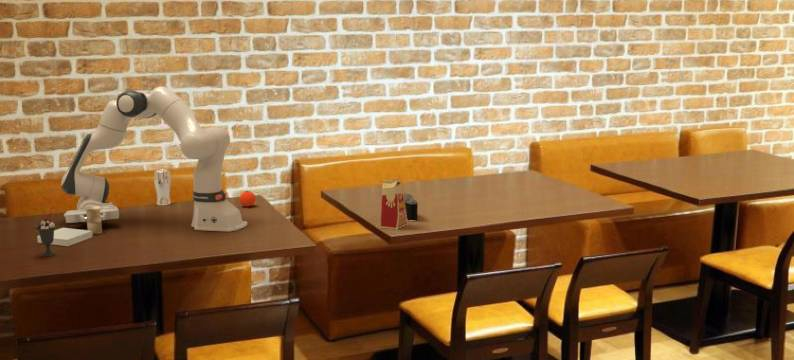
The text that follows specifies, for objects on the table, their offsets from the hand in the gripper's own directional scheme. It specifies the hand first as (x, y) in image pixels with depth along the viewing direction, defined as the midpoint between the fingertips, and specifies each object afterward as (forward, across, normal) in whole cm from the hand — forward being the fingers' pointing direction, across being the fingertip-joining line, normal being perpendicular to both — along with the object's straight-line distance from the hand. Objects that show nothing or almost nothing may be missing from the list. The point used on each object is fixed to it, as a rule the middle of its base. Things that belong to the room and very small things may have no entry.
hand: (94, 219), depth 370 cm
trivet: (+6, -11, +6) cm, 14 cm away
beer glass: (-41, +33, +6) cm, 53 cm away
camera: (+24, +122, +6) cm, 125 cm away
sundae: (+24, -18, +6) cm, 31 cm away
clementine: (-22, +66, +6) cm, 70 cm away
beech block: (-1, 0, +6) cm, 6 cm away
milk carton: (+36, +110, +6) cm, 116 cm away
